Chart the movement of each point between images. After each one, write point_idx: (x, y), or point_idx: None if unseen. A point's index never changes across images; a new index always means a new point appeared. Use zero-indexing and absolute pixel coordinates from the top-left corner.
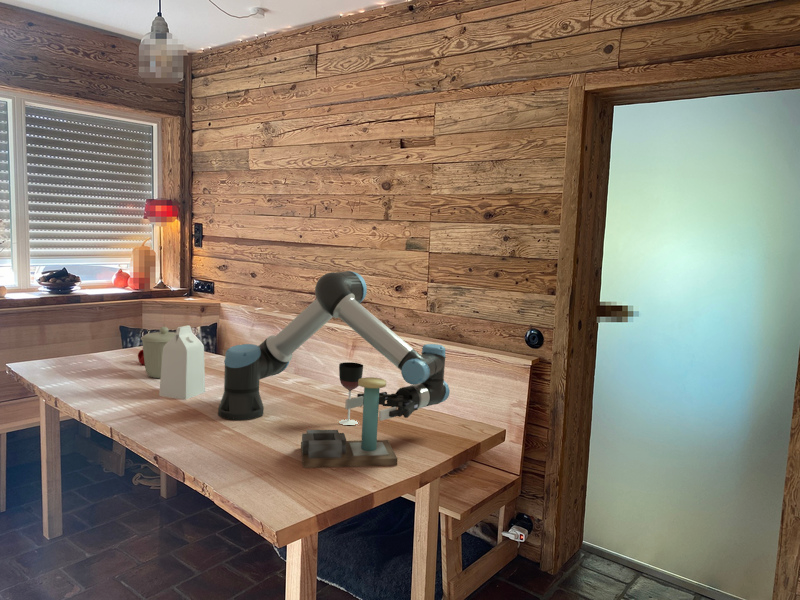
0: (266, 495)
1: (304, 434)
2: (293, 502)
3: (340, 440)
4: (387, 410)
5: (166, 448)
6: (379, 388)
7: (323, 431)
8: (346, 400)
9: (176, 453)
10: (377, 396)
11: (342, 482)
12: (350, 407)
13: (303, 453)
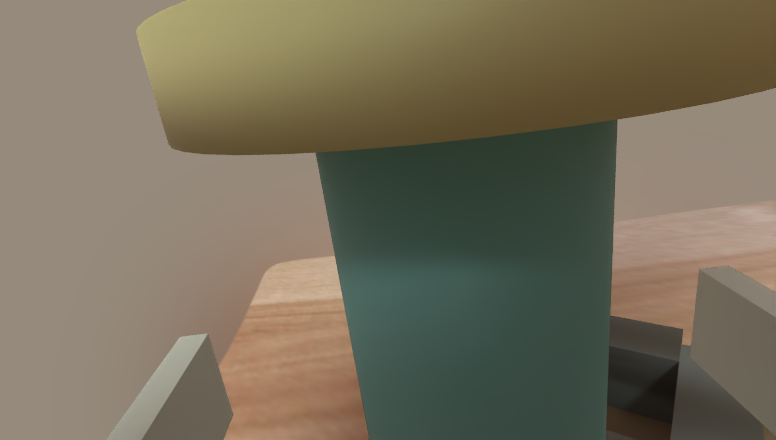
0: None
1: (662, 331)
2: (323, 295)
3: None
4: (133, 416)
5: (765, 213)
6: (338, 186)
7: (715, 413)
8: (715, 273)
9: (720, 220)
10: (342, 292)
11: (310, 409)
12: (726, 379)
13: None
